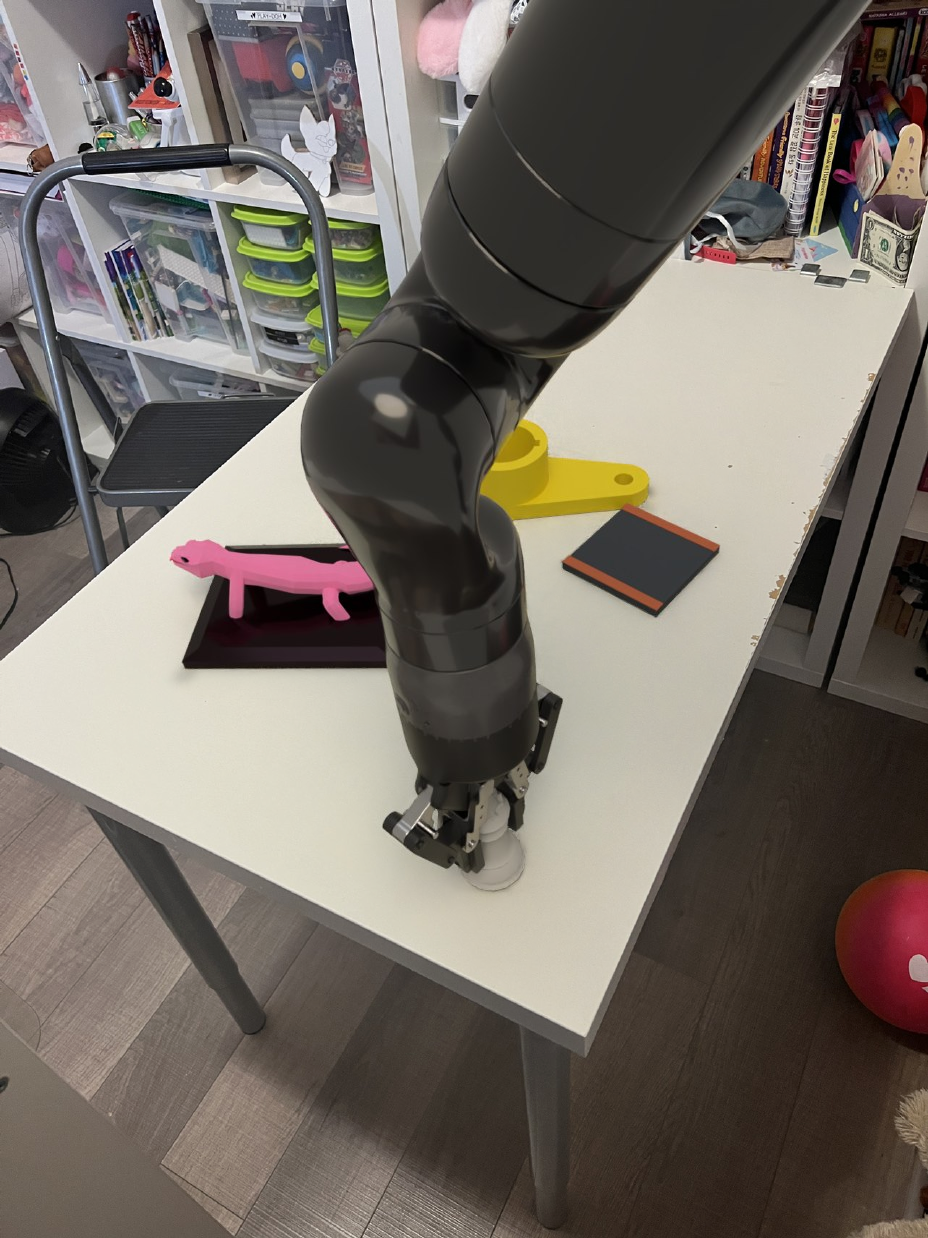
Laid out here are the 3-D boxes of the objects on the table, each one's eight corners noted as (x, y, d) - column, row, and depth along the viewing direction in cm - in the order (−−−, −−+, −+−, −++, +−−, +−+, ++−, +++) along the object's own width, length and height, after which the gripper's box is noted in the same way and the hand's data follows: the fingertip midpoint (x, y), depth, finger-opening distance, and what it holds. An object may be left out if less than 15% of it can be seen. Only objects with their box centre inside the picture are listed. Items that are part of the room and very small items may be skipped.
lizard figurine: (213, 552, 86) (189, 493, 80) (416, 548, 84) (405, 487, 78) (168, 668, 76) (137, 610, 71) (397, 668, 74) (383, 607, 68)
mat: (719, 552, 79) (720, 544, 79) (655, 617, 75) (656, 610, 74) (626, 509, 85) (627, 502, 84) (562, 568, 80) (562, 561, 79)
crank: (460, 520, 86) (453, 470, 81) (469, 466, 91) (464, 417, 87) (649, 521, 83) (653, 470, 79) (647, 466, 89) (650, 415, 84)
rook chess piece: (447, 867, 61) (432, 806, 55) (490, 822, 63) (480, 759, 57) (495, 907, 59) (485, 848, 53) (538, 859, 61) (533, 797, 55)
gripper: (421, 809, 41) (459, 958, 53) (603, 628, 47) (599, 799, 60) (315, 727, 45) (374, 884, 57) (497, 570, 51) (514, 742, 64)
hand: (489, 840), depth 58 cm, fingers closed on rook chess piece, 3 cm apart
